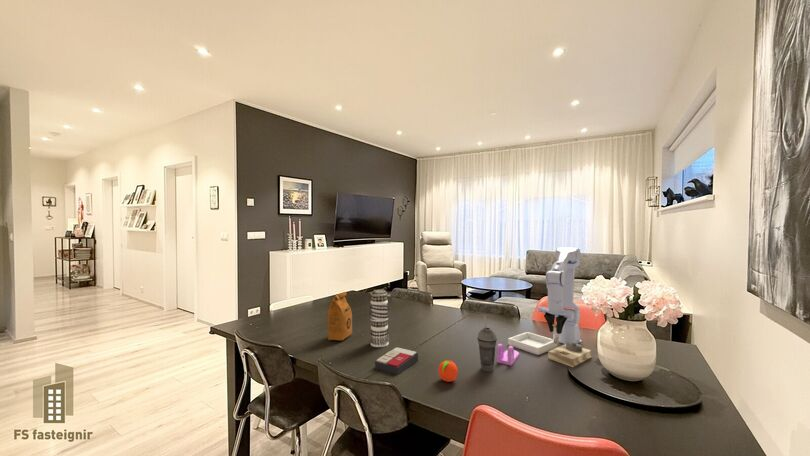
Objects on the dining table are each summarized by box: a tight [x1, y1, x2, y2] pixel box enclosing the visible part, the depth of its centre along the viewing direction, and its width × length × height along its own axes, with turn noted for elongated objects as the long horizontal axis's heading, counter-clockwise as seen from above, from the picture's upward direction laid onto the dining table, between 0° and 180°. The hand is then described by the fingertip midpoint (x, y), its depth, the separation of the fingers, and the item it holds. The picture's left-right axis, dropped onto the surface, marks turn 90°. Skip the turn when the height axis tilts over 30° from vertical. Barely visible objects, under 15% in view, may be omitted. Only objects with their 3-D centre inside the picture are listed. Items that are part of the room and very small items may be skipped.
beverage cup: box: [477, 315, 497, 372], centre depth 124 cm, size 7×7×20 cm
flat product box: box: [374, 346, 419, 375], centre depth 129 cm, size 11×4×15 cm
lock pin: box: [552, 322, 560, 345], centre depth 134 cm, size 3×3×8 cm
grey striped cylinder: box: [368, 289, 390, 348], centre depth 152 cm, size 9×9×25 cm
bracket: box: [496, 343, 520, 366], centre depth 133 cm, size 13×6×7 cm, turn 145°
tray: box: [507, 331, 558, 356], centre depth 147 cm, size 15×15×3 cm
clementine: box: [437, 359, 459, 383], centre depth 114 cm, size 8×7×7 cm
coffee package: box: [327, 291, 353, 342], centre depth 160 cm, size 10×12×22 cm
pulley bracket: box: [547, 342, 592, 368], centre depth 133 cm, size 15×10×6 cm, turn 126°
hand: (555, 332), depth 135 cm, fingers closed on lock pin, 3 cm apart
